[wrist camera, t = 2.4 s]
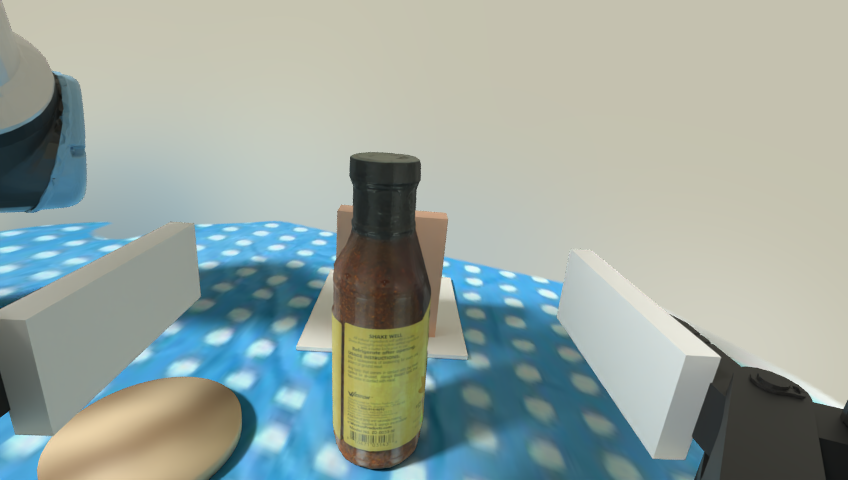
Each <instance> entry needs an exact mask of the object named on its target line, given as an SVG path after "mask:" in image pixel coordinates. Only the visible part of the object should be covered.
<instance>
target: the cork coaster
mask: <svg viewBox="0 0 848 480" xmlns="http://www.w3.org/2000/svg"><path fill="white" fill-rule="evenodd" d="M241 431H242V413H241V406H240V403H239V400H238V398H237V397H236V395H235V394H234V393H233V392H232V391H231V390H230V389H229V388H227V387H226V386H224V385H222V384H220V383H218V382H215V381H212V380H209V379H204V378H197V377H171V378H163V379H157V380H152V381H148V382H144V383H140V384H137V385H134V386H131V387H127V388H125V389H122V390H120V391H117V392H115V393H112V394H110V395H108V396H106V397H104V398H102V399H100V400H98V401H96V402H95V403H93V404H91V405H90V406H88V407H86V408H85V409H83V410H82V411H80V412H79V413H78V414H76V415H75V416H74V417H73V418H72V419H71V420H70V421H69V422H68V423H67V424H66V425H65V426H64V427H62V428H61V429H60V430H59V431H58V432H57V433H56V434H55V435H54V436H53V437H52V438H51V439H50V441H49V442H48V443H47V445H46V446H45V448H44V450H43V452H42V454H41V456H40V459H39V462H38V468H37V475H38V480H209V479H210V478H211V477H212V476H213V475H214V474H215V473H216V472H217V471H218V470H219V469H220V468H221V467H222V466H223V465H224V464H225V463H226V461H227V460H228V459H229V457H230V456H231V455H232V453H233V451H234V450H235V448H236V446H237V444H238V441H239V439H240V436H241Z"/></svg>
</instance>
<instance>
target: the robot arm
mask: <svg viewBox="0 0 848 480" xmlns="http://www.w3.org/2000/svg"><path fill="white" fill-rule="evenodd" d="M86 175H87V170H86V153H85V125H84V113H83V103H82V95H81V89H80V85H79V83H78V81H77V80H76V79H74V78H73V77H71V76H68V75H64V74H61V73H60V72H55V71H51V69H50V66H49V64H48V62H47V61H46V58H45V57H44V56H43V55H42V54H41V52H40V51H39V50H38V49H37V48H35V47H34V46H33V45H32V44H31V43H29V42H28V41H27V40H25V39H24V38H23V37H21V36H19V35H18V34H16V33H14V32H12V29H11V26H10V24H9V20H8V18H7V15H6V12H5V9H4V6H3V3H2V0H0V213H5V212H26V213H34V212H37V211H39V210H42V209H43V210H44V209H54V208H64V207H70V206H73V205H75V204H77V203H79V202H80V201H81V200H82V199H83V197H84V195H85V191H86V180H87V179H86V178H87V176H86ZM200 297H201V292H200V281H199V270H198V260H197V249H196V238H195V228H194V223H180V222H170V223H168V224H166V225H164V226H162V227H160V228H158V229H156V230H154V231H152V232H150V233H148V234H146V235H144V236H142V237H140V238H138V239H136V240H134V241H132V242H131V243H129V244H127V245H125V246H123V247H121V248H119V249H117V250H115V251H113V252H111V253H109V254H107V255H105V256H103V257H101V258H99V259H97V260H95V261H93V262H91V263H90V264H88V265H86V266H84V267H82V268H80V269H78V270H76V271H74V272H72V273H70V274H68V275H66V276H64V277H62V278H60V279H58V280H56V281H54V282H52V283H50V284H48V285H47V286H45V287H42V288H40V289H38V290H36V291H34V292H32V293H30V294H28V295H26V296H24V297H23V298H21V299H18V300H16V301H14V302H12V303H10V304H9V305H7V306H6V307H3V308H1V309H0V417H2V416H3V415H4V414H6V413H7V412H8V411H9V413H10V417H11V421H12V424H13V428H14V432H15V435H41V436H54V435H55V434H56V433H57V432H58V431H59V430H60V429H61V428H62V427H64V426H65V425H66V424H67V423H68V422H69V421H70V420H71V419H72V418H73V417H74V416H75V415H76V414H77V413H78V412H79V411H80V410H82V409H83V408H84V407H85V406H86V405H87V404H88V403H89V402H90V401H91V400H92V399H93V398H94V397H95V396H96V395H97V394H98V393H99V392H101V391H102V390H103V389H104V388H105V387H106V386H107V385H108V384H109V383H110V382H111V381H112V380H113V379H114V378H115V377H116V376H117V375H119V374H120V373H121V372H122V371H123V370H124V369H125V368H126V367H127V366H128V365H129V364H130V363H131V362H132V361H133V360H134V359H135V358H137V357H138V356H139V355H140V354H141V353H142V352H143V351H144V350H145V349H146V348H147V347H148V346H149V345H150V344H151V343H152V342H153V341H155V340H156V339H157V338H158V337H159V336H160V335H161V334H162V333H163V332H164V331H165V330H166V329H167V328H168V327H169V326H170V325H171V324H173V323H174V322H175V321H176V320H177V319H178V318H179V317H180V316H181V315H182V314H183V313H184V312H185V311H186V310H187V309H188V308H189V307H190V306H192V305H193V304H194V303H195V302H196V301H197V300H198V299H199V298H200ZM557 318H558V320H559V321H560V323H561V324H562V326H563V327H564V329H565V330H566V332H567V333H568V334H569V336H570V337H571V339H572V340H573V342H574V343H575V345H576V346H577V348H578V349H579V351H580V352H581V354H582V355H583V357H584V358H585V360H586V361H587V362H588V364H589V365H590V367H591V368H592V370H593V371H594V373H595V374H596V376H597V377H598V379H599V380H600V382H601V383H602V385H603V386H604V387H605V389H606V390H607V392H608V393H609V395H610V396H611V398H612V399H613V401H614V402H615V404H616V405H617V407H618V408H619V410H620V411H621V413H622V414H623V415H624V417H625V418H626V420H627V421H628V423H629V424H630V426H631V427H632V429H633V430H634V432H635V433H636V435H637V436H638V438H639V439H640V441H641V442H642V443H643V445H644V446H645V448H646V449H647V451H648V452H649V454H650V455H651V457H652V458H653V459H670V460H685V459H686V456H687V453H688V450H689V447H690V445H691V442H692V439H694V440H695V441H696V442H697V443H698V444H699V446H700V447H701V448H702V449H703V450H704V455H703V457H702V460H701V463H700V465H699V468H698V471H697V474H696V476H695V479H694V480H848V401H847V403H846V405H845V407H844V409H840V408H836V407H831V406H827V405H823V404H818V403H814V402H812V399H811V397H810V396H809V394H808V393H807V392H806V391H805V390H804V389H802V388H801V387H800V386H799V385H797V384H795V383H794V382H792V381H790V380H788V379H787V378H785V377H782V376H780V375H778V374H775V373H773V372H770V371H766V370H763V369H759V368H753V367H741V366H740V365H738V364H737V363H736V362H735V361H733V360H732V359H731V358H730V357H728V356H727V355H726V354H725V353H723V352H722V351H721V350H720V349H718V348H717V347H716V346H715V345H713V344H710V341H709V340H707V339H706V338H705V337H704V336H702V335H700V333H699V332H697V331H696V330H695V329H694V328H692V327H691V326H690V325H689V324H687V323H686V322H684V321H682V320H680V319H678V318H676V317H674V316H672V315H670V314H668V313H667V312H666V311H665V310H663V309H662V308H661V307H660V306H659V305H657V304H656V303H655V302H654V301H652V300H651V299H650V298H649V297H648V296H646V295H645V294H644V293H643V292H642V291H640V290H639V289H638V288H637V287H636V286H634V285H633V284H632V283H631V282H629V281H628V280H627V279H626V278H625V277H623V276H622V275H621V274H620V273H619V272H617V271H616V270H615V269H614V268H612V267H611V266H610V265H609V264H608V263H606V262H605V261H604V260H603V259H602V258H600V257H599V256H598V255H596V253H594V252H593V251H592V250H583V249H570V254H569V258H568V264H567V269H566V274H565V278H564V283H563V288H562V293H561V298H560V303H559V308H558V313H557Z"/></svg>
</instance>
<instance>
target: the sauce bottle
mask: <svg viewBox="0 0 848 480" xmlns="http://www.w3.org/2000/svg"><path fill="white" fill-rule="evenodd" d="M350 178H351V181H352V184H353V218H352V220H351V224H352V230H351V234H350V236H349V238H348V241H347V243H346V245H345V247H344V248H343V249H342V251H341V252H340V254H339V256H338V257H337V259H336V261H335V263H334V273H333V283H334V284H333V291H334V292H333V301H334V304H333V306H332V385H333V428H334V434H335V438H336V444H337V445H338V448H339V450H340V451H341V453H342V454H343V456H344V457H345V459H347V460H348V461H350V462H351V463H353V464H355V465H358V466H361V467H366V468H369V469H382V468H391V467H393V466H394V465H397V464H399V463H401V462H402V461H404V460H405V459H406V458H408V457H409V456H410V455H411V454H412V453H413V451H414V450H415V448H416V446H417V442H418V438H419V435H420V428H421V426H422V422H423V412H424V395H425V380H426V370H427V369H426V367H427V355H428V351H427V347H428V340H429V319H430V305H431V286H430V282H429V278H428V274H427V270H426V267H425V263H424V259H423V255H422V251H421V247H420V243H419V240H418V236H417V232H416V221H415V208H416V189H417V186H418V184H419V182H420V178H421V163H420V160H419V159H418V158H416V157H414V156H410V155H403V154H393V153H378V152H368V153H358V154H354V155H352V156H351V157H350Z"/></svg>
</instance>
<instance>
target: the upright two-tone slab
mask: <svg viewBox="0 0 848 480" xmlns="http://www.w3.org/2000/svg"><path fill="white" fill-rule="evenodd" d="M337 213H338V214H337V253H336V259H337V257H338V256H339V254H340V252H341V251H342V249H343V248H344V247H345V245H346V243H347V241H348V238H349V236H350V234H351V230H352V224H351V220H352V218H353V206H349V205H341V206H340V208H339V209H338V211H337ZM415 221H416V232H417V236H418V240H419V243H420V247H421V251H422V255H423V259H424V263H425V267H426V270H427V274H428V278H429V282H430V286H431V305H430V319H429V337H435V331H436V322H437V313H438V304H439V295H440V287H441V278H442V269H443V260H444V251H445V242H446V233H447V224H448V218H447V214H446V213H439V212H427V211H415Z"/></svg>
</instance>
